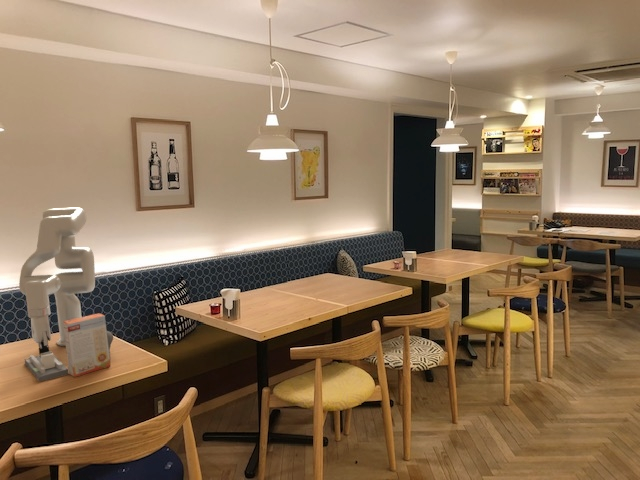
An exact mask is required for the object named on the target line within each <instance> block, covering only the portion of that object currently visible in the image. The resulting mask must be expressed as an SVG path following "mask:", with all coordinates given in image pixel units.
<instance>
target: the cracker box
mask: <svg viewBox="0 0 640 480" xmlns="http://www.w3.org/2000/svg"><path fill="white" fill-rule="evenodd" d="M63 328H64V336H65V344H66V346H65V350H66V358H67V365H68V368H67V369H68V374H70V376H72V377H73V378H76V377H79V376H82V375H86V374H89V373H93V372H96V371H100V370H102V369H106V368H109V367H111V361H110V360H111V358H110V357H111V356H110V353H109V348H108V339H107V331H108V330H107V324H106V316H105V315H104V314H103V313H94V314H89V315H86V316H82V317H81V318H76V319H72V320H67V321H63Z"/></svg>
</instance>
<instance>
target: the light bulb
mask: <svg viewBox="0 0 640 480" xmlns="http://www.w3.org/2000/svg"><path fill="white" fill-rule="evenodd" d="M106 331H107V339H108V348H109V354H111V345H112V342H113V340H114V335H113V333H112V332H110V331H109V330H106Z"/></svg>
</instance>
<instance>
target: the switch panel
mask: <svg viewBox="0 0 640 480" xmlns="http://www.w3.org/2000/svg"><path fill="white" fill-rule="evenodd" d="M54 361H55V367H53V368H49V369H45V368H44V367H43V366H42V364H41V358H40V355H37V356H35V355H34V354H29V357H28V358H25V359H24V365H25V366H26V367H27V368H28V370H29V371H30V372H31V373H32V375H33V376H34V377H35V378H36V379H37V381H38V383H39V382H43V381H48V380H52V379H55V378H59V377H60V378H61V377H63V376H67V375H69V368H67V366H66V365H64V364H63V363H62V361H61V360H60V359H58V357H57V356H56V355H54Z"/></svg>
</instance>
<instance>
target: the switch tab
mask: <svg viewBox="0 0 640 480" xmlns="http://www.w3.org/2000/svg"><path fill="white" fill-rule="evenodd" d="M39 356H41V364H42V366H43V367H44V368H45V369H49V368H53V367H55V361H54V356H55V354H54V353H53V350H49V352H45V353H41V354H40V355H39Z"/></svg>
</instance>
